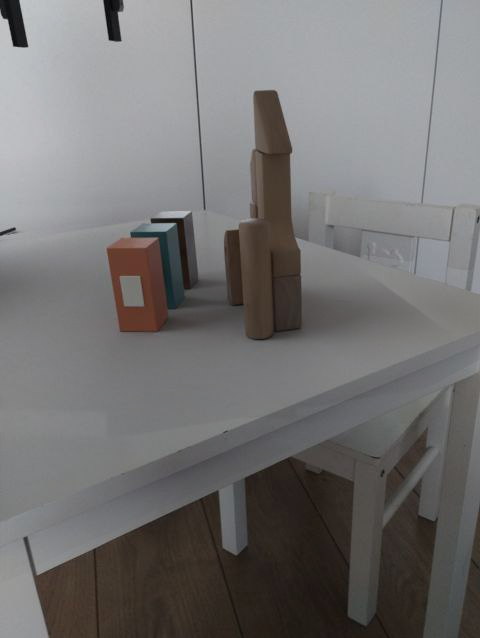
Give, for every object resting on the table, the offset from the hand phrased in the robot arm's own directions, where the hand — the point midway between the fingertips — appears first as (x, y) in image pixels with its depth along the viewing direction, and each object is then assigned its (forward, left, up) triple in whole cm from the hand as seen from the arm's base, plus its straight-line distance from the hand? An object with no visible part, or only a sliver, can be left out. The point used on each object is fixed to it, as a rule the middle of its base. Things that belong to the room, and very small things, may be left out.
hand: (67, 44), depth 77 cm
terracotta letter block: (+26, +4, -32) cm, 41 cm away
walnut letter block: (+12, +10, -32) cm, 35 cm away
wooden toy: (+28, +18, -32) cm, 46 cm away
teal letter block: (+19, +7, -32) cm, 38 cm away
